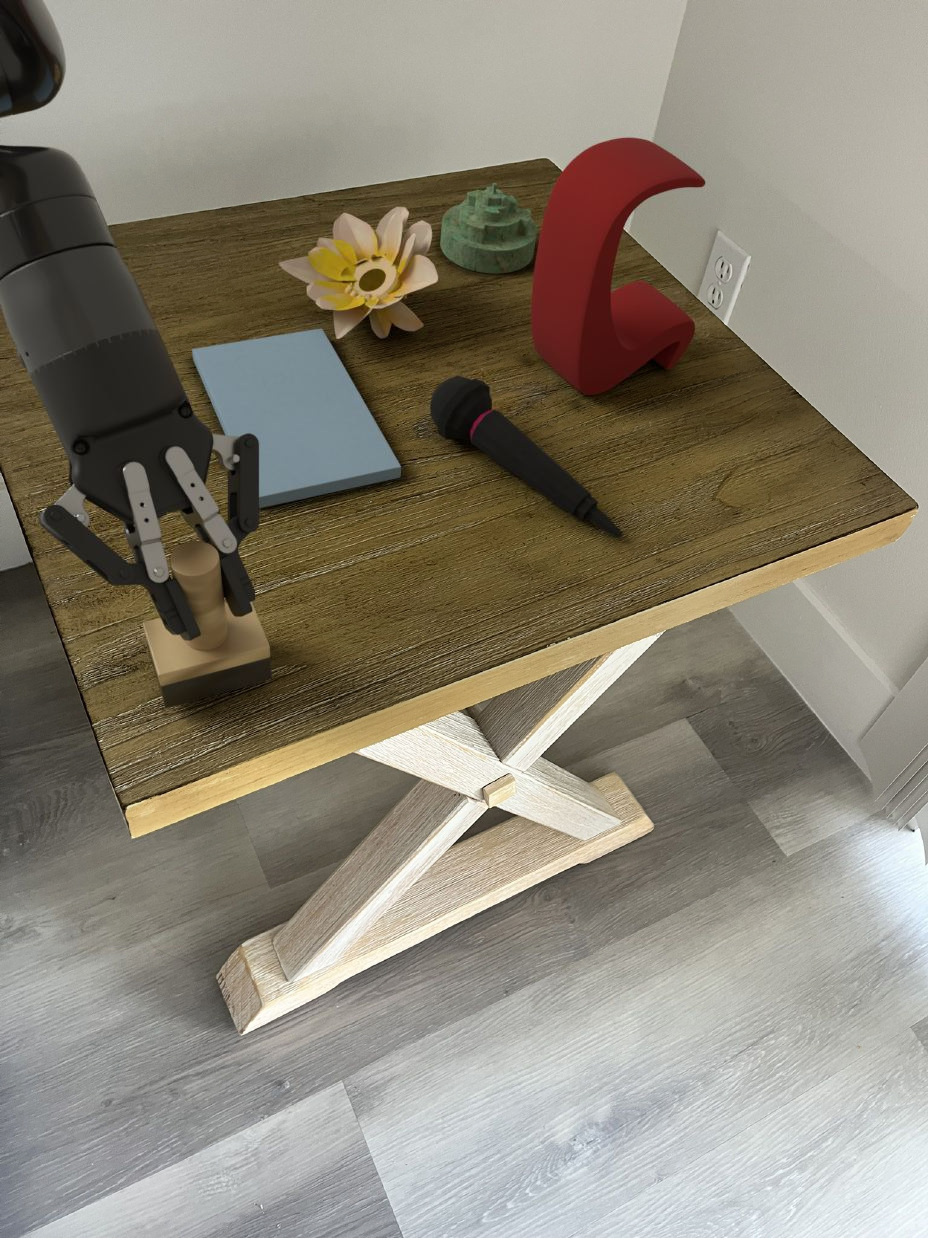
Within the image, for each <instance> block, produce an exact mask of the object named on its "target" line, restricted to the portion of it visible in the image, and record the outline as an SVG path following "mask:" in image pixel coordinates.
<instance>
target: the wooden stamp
mask: <svg viewBox="0 0 928 1238" xmlns="http://www.w3.org/2000/svg"><path fill="white" fill-rule="evenodd" d="M169 566H170V571H171V572H170V573H171V578H172V579H175V578H176V579H177V581H178V583H179V585H180V588H181V590H182V592H183V594H184V596H185V599H186V601H187V603H188V605H189V607H190V609H191V612H192V614H193V616H194V618H195V620H196V623H197V625H198V627H199V629H200V632H201V636H199V637H197V638H195V639H193V640H191V641H186V640H183V639H182V637H181V636H180V635H172V634H171V633H170V632H169V631H168V630H166V629H165V626H164V624H163V622H162V620H161V618H160V617H159V618H155V619H151V620H147V621H143V622H142V627H143V632H144V637H145V641H146V645H147V650H148V654H149V658H150V661H151V665H152V669H153V672H154V674H155V675H154V676H155V679H156V681H157V685H158V688H159V691H160V694H161V698H162V701H163V705H164V707H165V709H169V708H170V709H171V708H174V707H177V706H180V705H184V704H187V703H191V702H195V701H199V700H202V699H206V698H209V697H213V696H218V695H220V694H224V693H228V692H231V691H234V690H238V689H243V688H246V687H249V686H253V685H256V684H260V683H264V682H267V681H271V680H272V679H273V671H272V660H271V659H272V658H271V647H270V643H269V640H268V638H267V636H266V633H265V630H264V628H263V625H262V623H261V620H260V618H259V615H258V612H257V610H256V607H255V604H254V601H252V602H250V603H251V606H252V610H253V611H252V612H251V613H249V614H247V615H245V616H242V617H235V616H234V615H233V614H232V612H231V611H230V609H229V606H228V604H227V602H226V600H225V597H224V591H223V583H222V575H221V567H220V559H219V554H218V551H217V550H216V549H215V548H214V547H213V546H212V545H210V544H208V543H205V542H201V540H199V541H197V540H194V541H187V542H184V543H181V544H180V545H178V546H177V547H175V548H174V549H173V550H172V551H171V554H170V556H169Z"/></svg>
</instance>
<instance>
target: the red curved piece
mask: <svg viewBox="0 0 928 1238" xmlns="http://www.w3.org/2000/svg"><path fill="white" fill-rule="evenodd" d="M705 185H706V180H705V178H704V177H703V176H702V175H701V174H700V173H699V172H697V171H696V170H695V169H693V168H692V167H690V166H689V164H687V163H685V162H684V161H683V160H681V159H680V158H678V157H677V156H675V155H674V154H673V153H671V152H670V151H668V150H667V149H665V148H663V147H662V146H660V145H659V144H656V143H655V142H653V141H651V140H648V139H645V138H639V137H629V136H627V137H618V138H612V139H609V140H604V141H601V142H598V143H596V144H593V145H591V146H589V147H588V148H586V149H584V150H583V151H582V152H580V153H579V154H578V155H576V156H575V157H574V158H573V159H572V160H571V161H570V162H569V163H568V164H567V166H565V168H564V169H563V170H562V172H561V173H560V175H559V177H558V178H557V179H556V181H555V183H554V185H553V188H552V190H551V192H550V196H549V198H548V201H547V204H546V207H545V211H544V215H543V219H542V223H541V227H540V233H539V239H538V245H537V251H536V256H535V263H534V270H533V278H532V288H531V300H530V328H531V329H530V331H531V336H532V342H533V346H534V349H535V350H536V353H538V355H539V356H540V357H541V358H542V359H543V360H544V361H545V363H546V364H548V365H549V367H551V369H553V370H554V371H555V372H556V373H557V374H558V375H559V376H560V377H561V378H562V379H564V381H566V382H567V383H568V384H569V385H570V386H571V387H572V388H573V389H575V390H577V391H578V392H579V393H581V394H583V395H586V396H595V395H599V394H602V393H604V392H607V391H609V390H611V389H613V388H614V387H616V386H617V385H618V384H620V383H622V382H623V381H624V380H626V379H627V378H629V377H630V376H631V375H632V374H634V373H635V372H636V371H638V370H639V369H640V368H641V367H643V366H644V365H645V364H647V363H648V362H649V361H650V360H653V361H654V362H655V363H657V364H658V365H659V366H660V367H662V368H664V369H665V370H667V371H668V370H669V371H670V370H672V369H673V368H674V367H675V366H676V364H677V363H678V362H679V360H680V359H681V357H682V356H683V355H684V353H685V351H687V349H688V347H689V346H690V344H691V342H692V340H693V338H694V335H695V332H696V324H695V321H694V320H693V318H691V316H690V315H688V313H686V311H684V310H683V309H682V308H681V307H679V305H678V304H676V303H675V302H674V301H673V300H672V299H670V298H669V297H667V295H665V294H664V293H663V292H661V291H660V290H658V289H657V288H656V287H655V286H653V285H651V284H650V283H648V282H646V281H645V280H637V281H633V282H629V283H627V284H624V285H621V286H620V287H618V288H616V289H614V290H613V291H612V282H613V275H614V270H615V269H614V268H615V262H616V259H617V255H618V250H619V245H620V242H621V239H622V235H623V232H624V228H625V226H626V223H627V221H628V219H629V217H630V216H631V215H632V213H633V212H634V211H635V210H636V209H637V208H638V207H639V206H640V205H641V204H643V203H644V202H645V201H647V200H649V199H650V198H652V197H654V196H656V195H660V194H662V193H665V192H669V191H672V190H677V189H684V188H685V189H686V188H704V187H705Z"/></svg>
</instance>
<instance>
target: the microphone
mask: <svg viewBox="0 0 928 1238" xmlns="http://www.w3.org/2000/svg"><path fill="white" fill-rule="evenodd" d="M429 411H430V418H431V419H432V422H433V424H434V425H435V426H436V428H437V433H438V435H439V436H440V437H442V438H443V439H445V440H449V441H457V440H458V439H459V440H462V441H466V440H470V441H471V444H472V445H473V446H475V447H476V448H477V449H479V450H480V451H482V452H483V453H484V454H486V455H487V456H488V457H490V458H491V459H493V460H494V462H495V464H496V465H497V466H499V467H500V468H501V469H503V470H504V471H506V472H507V473H512V474H514V475H515V476H516V477H517V478H519V479H520V480H522V481H523V482H525V483H526V484H527V485H529V486H530V487H531V488H533V489H534V490H536V491H537V492H538V493H540V494H542V496H544V497H546V498H547V499H548V500H550V501H551V502H552V503H554V504H555V505H557V506H558V507H560V508H561V509H562V510H564V511H565V512H567V513H568V514H569V515H571V516H572V517H576V518H577V519H579V520H580V521H581V522H583V521H586V520H588V521H590V522H591V523H592V524H594V525H595V526H596V527H598V528H600V529H601V530H603V531H604V532H606V533H608V534H610V535H611V536H613V537H615V538H617V539H619V538H620V537H622V535H623V532H622V531H621V530H620V529H619V527H618V526H616V524H615V523H614V522H613V521H612V520H611V519H610V518H609V517H608V516H607V515H606V514H605V513H604V512H603V511H602V510H600V508H598V505H599V501H598V500H597V499H596V498H594V497H593V496H592V493H591V492H590V491H589V490H588V489H586V488H585V487H584V486H583V485H582V484H581V483H580V482H579V481H578V480H576V478H574V477H573V476H572V475H571V474H570V473H569V472H568V471H567V470H565V469H564V468H563V467H562V466H561V465H560V464H559V463H557V462H556V461H555V460H554V459H553V457H551V455H549V454H547V453H546V452H545V451H544V450H543V449H542V448H541V447H540V446H539V445H537V444H536V443H535V442H534V441H533V440H532V438H530V437H529V436H527V434H525V433H524V432H523V431H522V430H521V429H519V427H518V426H516V425H515V424H514V423H513V422H512V421H511V420H510V419H508V418H507V417H506V416H505V415H504V414H503V413H502V412H500V410H496V409H493V398H492V396H491V387H490V386H489V385H488V384H487V383H486V382H485V381H483V380H480V379H477V378H473V379H471V378H468V377H464V376H460V375H454V376H452V377H449V378H447V379H445V380H444V381H442V382H440V384H438V386H437V387H436V388H435V389H434V391H433V392H432V395H431V398H430V406H429Z"/></svg>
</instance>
